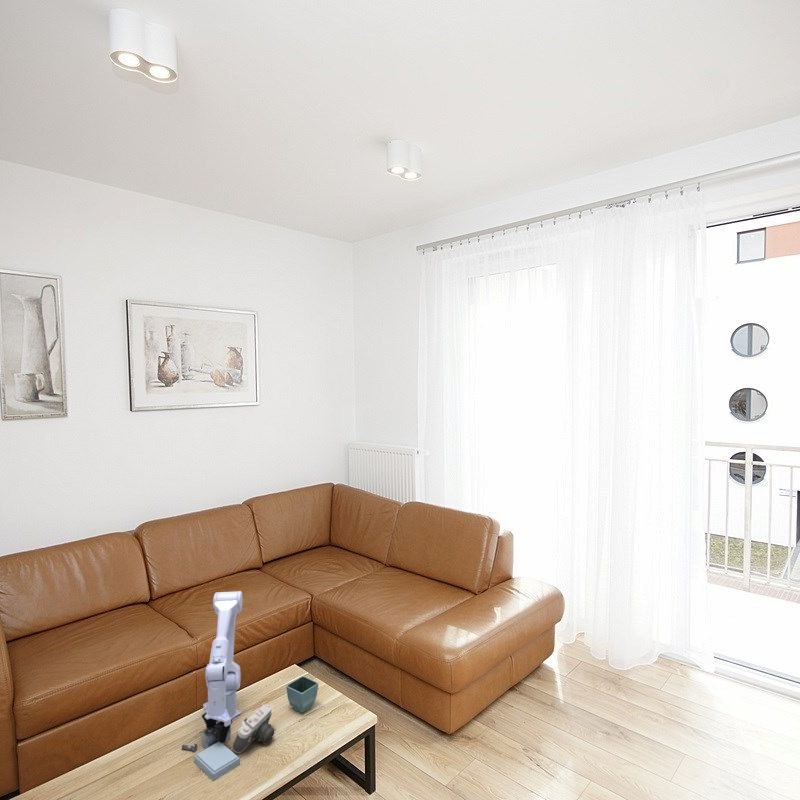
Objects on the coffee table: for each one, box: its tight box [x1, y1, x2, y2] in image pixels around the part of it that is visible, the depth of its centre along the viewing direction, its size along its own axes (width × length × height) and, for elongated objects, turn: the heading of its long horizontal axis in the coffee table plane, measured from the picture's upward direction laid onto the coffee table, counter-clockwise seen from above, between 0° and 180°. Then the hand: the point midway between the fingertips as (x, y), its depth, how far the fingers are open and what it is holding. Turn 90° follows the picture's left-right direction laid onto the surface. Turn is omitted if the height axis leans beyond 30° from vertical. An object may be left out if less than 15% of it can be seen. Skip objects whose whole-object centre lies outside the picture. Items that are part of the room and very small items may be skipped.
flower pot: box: [285, 675, 319, 714], centre depth 192 cm, size 9×9×9 cm
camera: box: [231, 703, 276, 754], centre depth 173 cm, size 9×16×10 cm, turn 157°
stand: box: [193, 742, 241, 781], centre depth 163 cm, size 12×9×2 cm
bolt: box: [181, 743, 198, 752], centre depth 169 cm, size 5×2×2 cm, turn 79°
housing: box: [201, 721, 232, 750], centre depth 173 cm, size 4×8×6 cm, turn 138°
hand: (216, 738), depth 172 cm, fingers open, 6 cm apart
